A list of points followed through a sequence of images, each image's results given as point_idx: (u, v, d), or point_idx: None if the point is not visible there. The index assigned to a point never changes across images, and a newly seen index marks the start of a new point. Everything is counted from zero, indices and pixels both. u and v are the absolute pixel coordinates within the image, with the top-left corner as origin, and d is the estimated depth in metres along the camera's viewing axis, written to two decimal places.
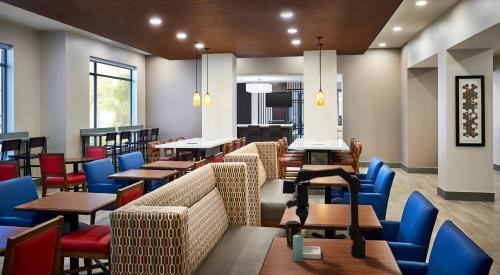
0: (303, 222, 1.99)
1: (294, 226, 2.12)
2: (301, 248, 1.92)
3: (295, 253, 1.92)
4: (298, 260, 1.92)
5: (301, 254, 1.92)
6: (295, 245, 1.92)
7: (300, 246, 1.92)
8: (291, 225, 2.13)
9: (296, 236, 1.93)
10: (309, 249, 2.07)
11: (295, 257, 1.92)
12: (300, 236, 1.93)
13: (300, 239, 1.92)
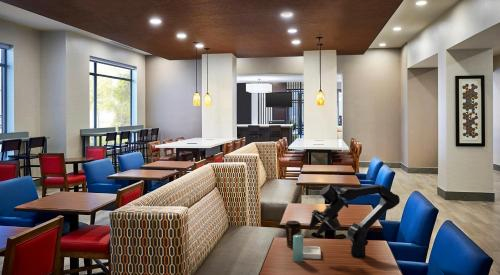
0: None
1: (294, 226, 2.12)
2: (301, 248, 1.92)
3: (295, 253, 1.92)
4: (298, 260, 1.92)
5: (301, 254, 1.92)
6: (295, 245, 1.92)
7: (300, 246, 1.92)
8: (291, 225, 2.13)
9: (296, 236, 1.93)
10: (309, 249, 2.07)
11: (295, 257, 1.92)
12: (300, 236, 1.93)
13: (300, 239, 1.92)
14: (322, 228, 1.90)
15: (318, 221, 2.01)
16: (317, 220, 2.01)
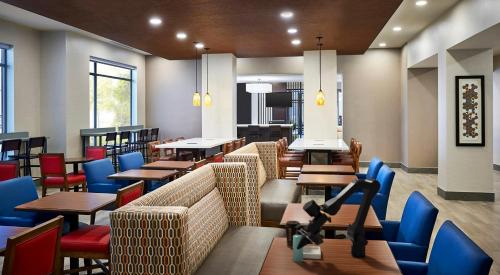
0: None
1: (294, 226, 2.12)
2: (301, 248, 1.92)
3: (295, 253, 1.92)
4: (298, 260, 1.92)
5: (301, 254, 1.92)
6: (295, 245, 1.92)
7: None
8: (291, 225, 2.13)
9: (296, 236, 1.93)
10: (309, 249, 2.07)
11: (295, 257, 1.92)
12: (300, 236, 1.93)
13: (300, 239, 1.92)
14: (302, 242, 1.90)
15: None
16: None
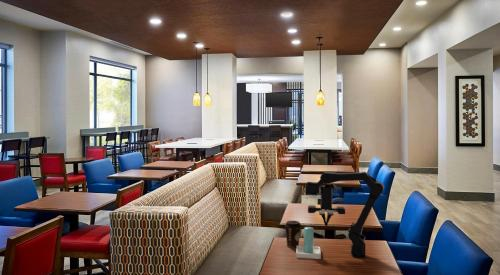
0: None
1: (294, 226, 2.12)
2: (310, 240, 2.01)
3: (304, 244, 2.02)
4: (307, 251, 2.01)
5: (310, 245, 2.01)
6: (305, 236, 2.02)
7: (309, 238, 2.01)
8: (291, 225, 2.13)
9: (306, 228, 2.03)
10: None
11: (305, 248, 2.02)
12: (310, 228, 2.02)
13: (309, 231, 2.01)
14: None
15: None
16: (324, 214, 2.08)
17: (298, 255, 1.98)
